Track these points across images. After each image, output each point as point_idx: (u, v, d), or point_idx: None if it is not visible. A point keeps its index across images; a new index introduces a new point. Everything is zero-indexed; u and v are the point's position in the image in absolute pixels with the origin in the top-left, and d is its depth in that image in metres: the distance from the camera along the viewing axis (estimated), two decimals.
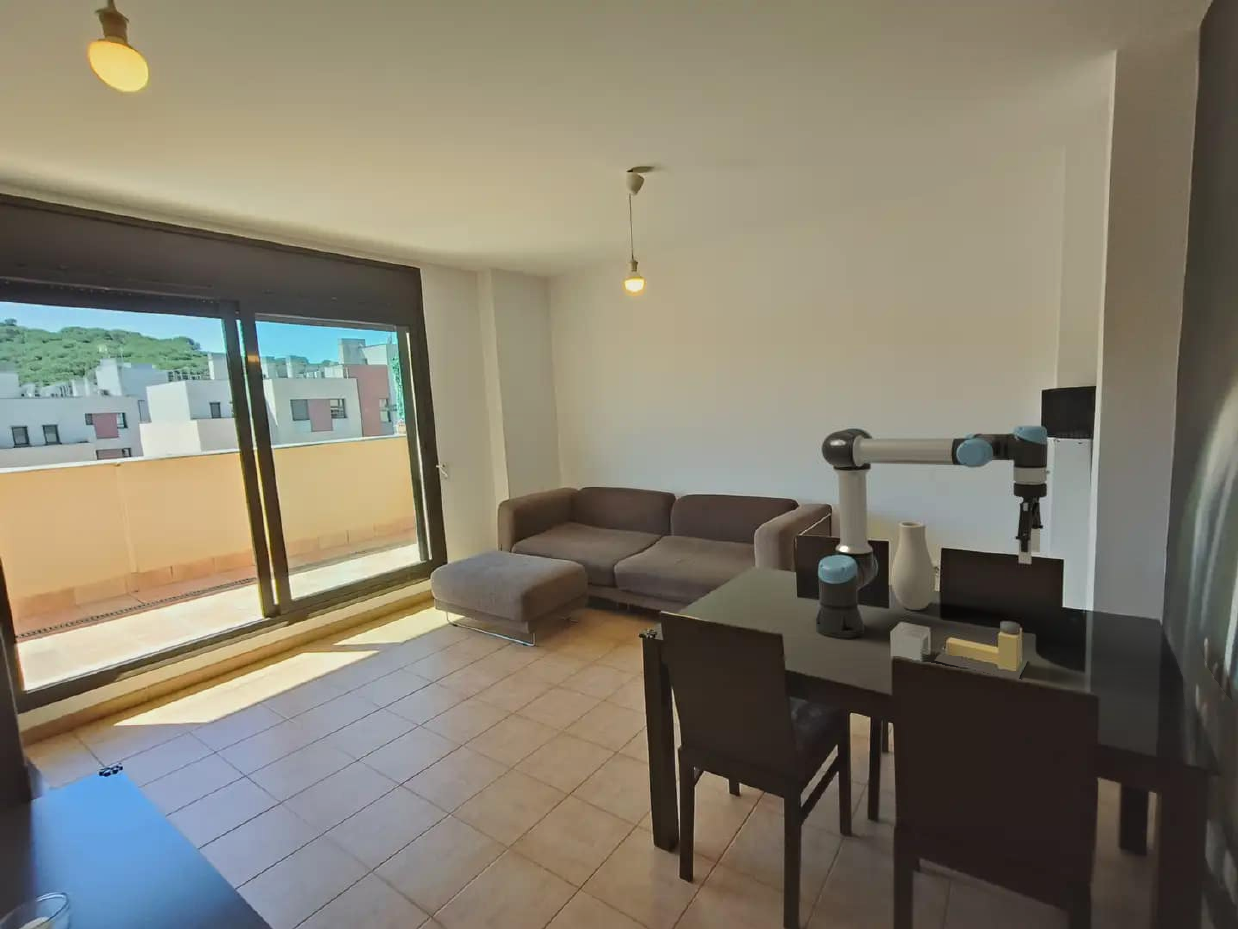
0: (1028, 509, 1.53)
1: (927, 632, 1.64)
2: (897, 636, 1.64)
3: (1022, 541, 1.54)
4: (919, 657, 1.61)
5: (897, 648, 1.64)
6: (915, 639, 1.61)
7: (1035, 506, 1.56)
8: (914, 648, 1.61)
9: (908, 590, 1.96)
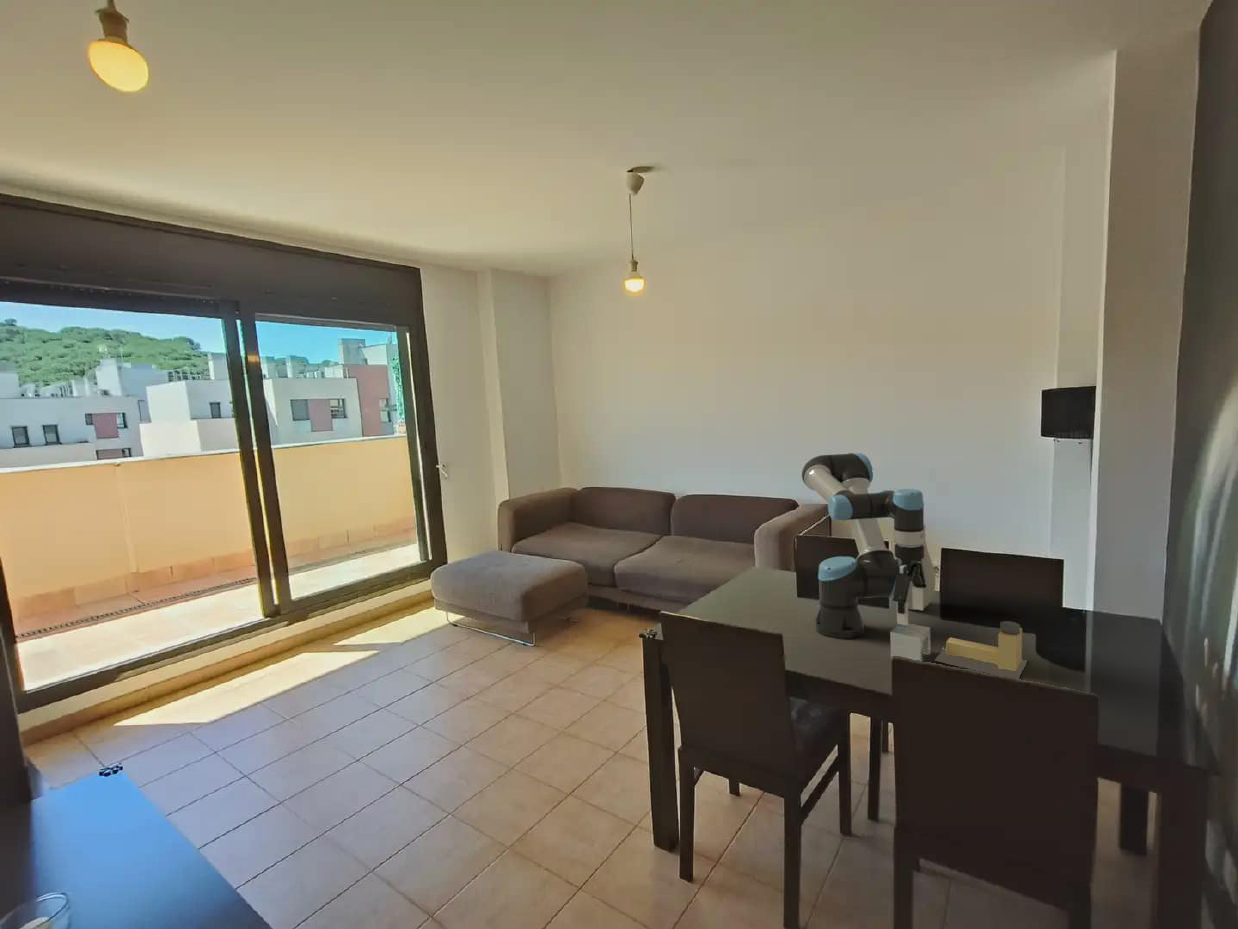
0: (904, 572, 1.58)
1: (927, 632, 1.64)
2: (897, 636, 1.64)
3: (898, 603, 1.59)
4: (919, 657, 1.61)
5: (897, 648, 1.64)
6: (915, 639, 1.61)
7: (913, 568, 1.61)
8: (914, 648, 1.61)
9: None
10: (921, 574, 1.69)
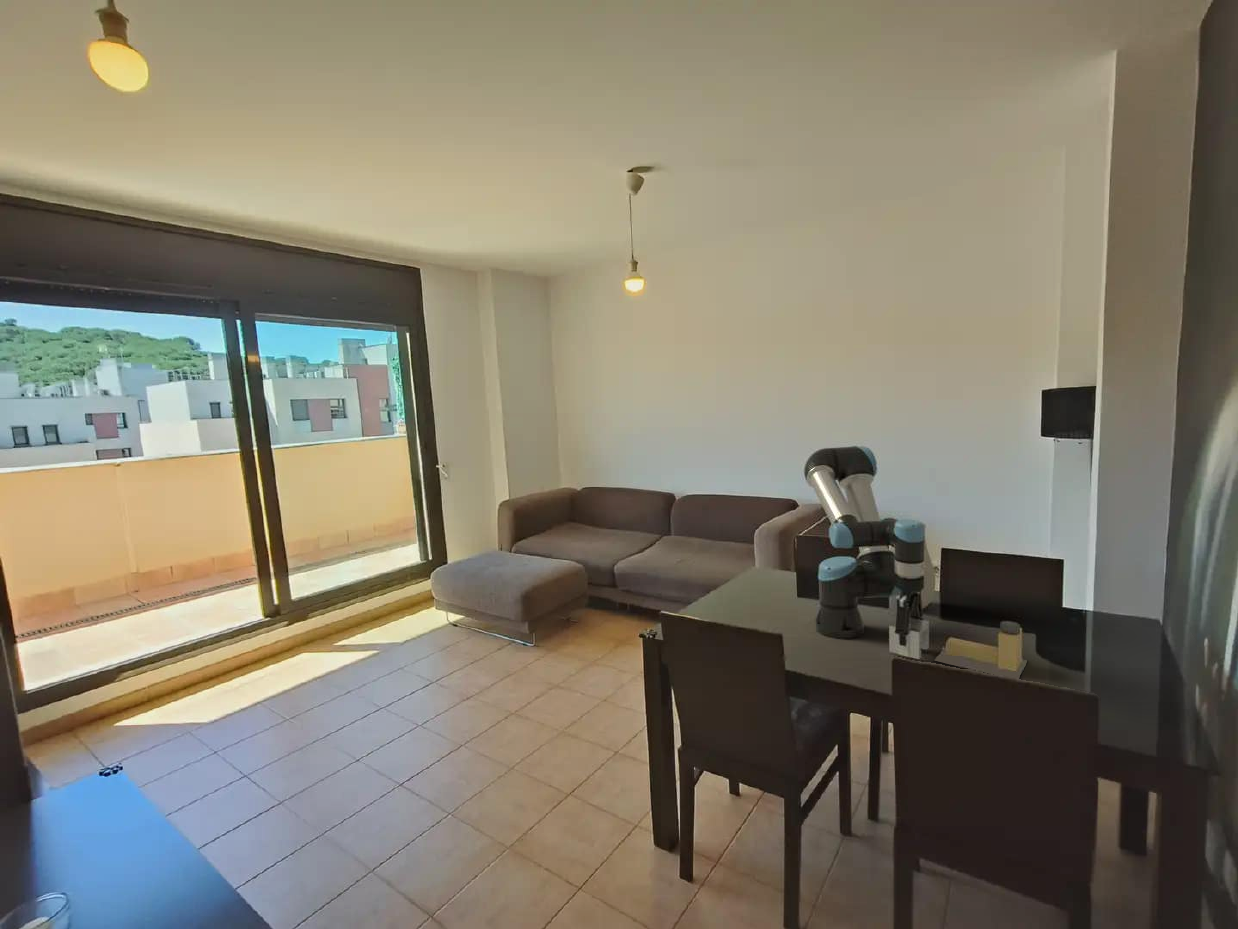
0: (904, 606, 1.60)
1: (926, 626, 1.65)
2: None
3: (900, 635, 1.62)
4: (918, 651, 1.61)
5: (896, 642, 1.65)
6: (914, 633, 1.61)
7: (912, 599, 1.62)
8: (913, 642, 1.62)
9: None
10: (919, 606, 1.69)
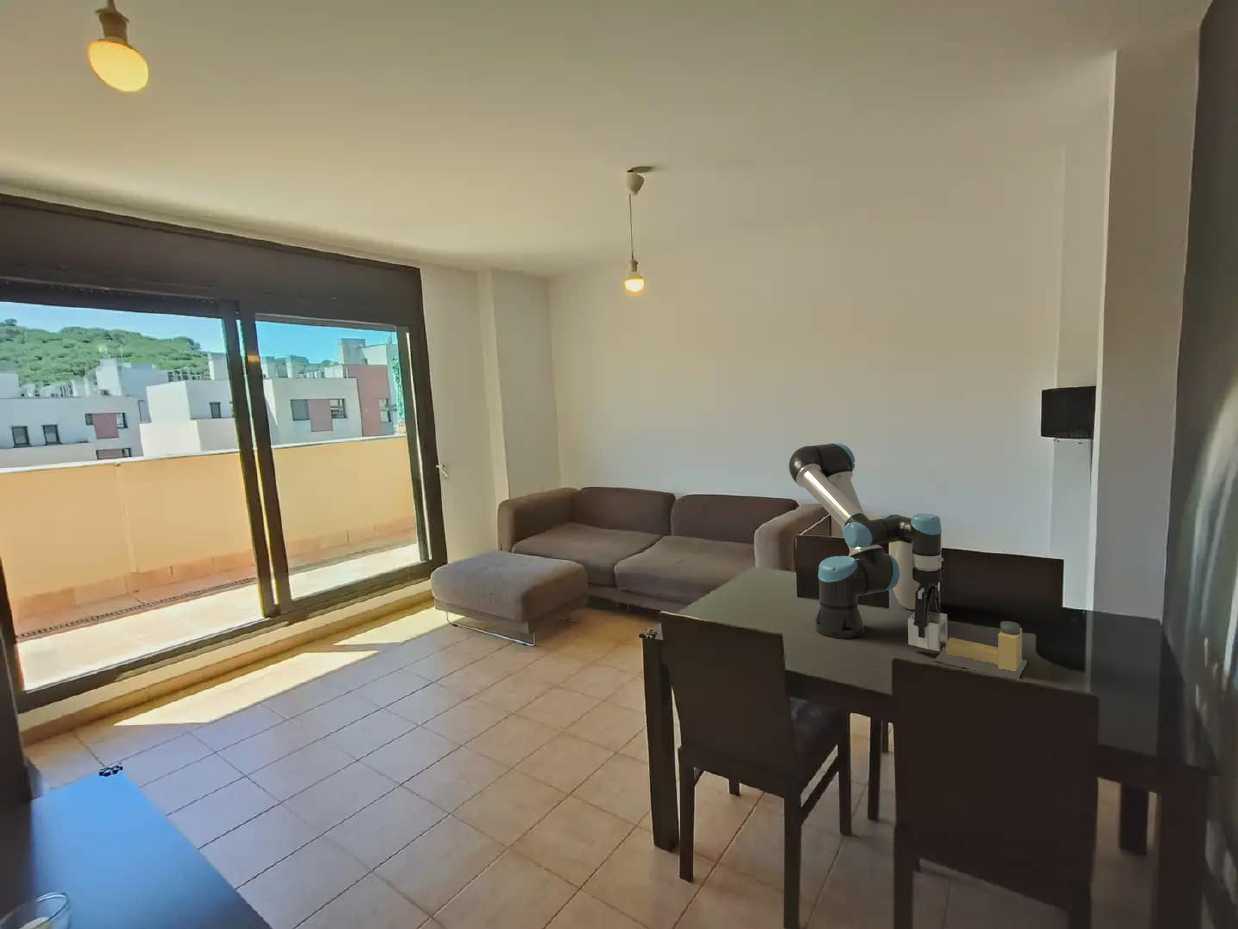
0: (922, 598, 1.62)
1: (944, 618, 1.67)
2: None
3: (919, 627, 1.64)
4: (937, 643, 1.63)
5: (915, 634, 1.67)
6: (933, 625, 1.63)
7: (930, 592, 1.65)
8: (932, 634, 1.64)
9: (908, 590, 1.96)
10: (937, 600, 1.72)
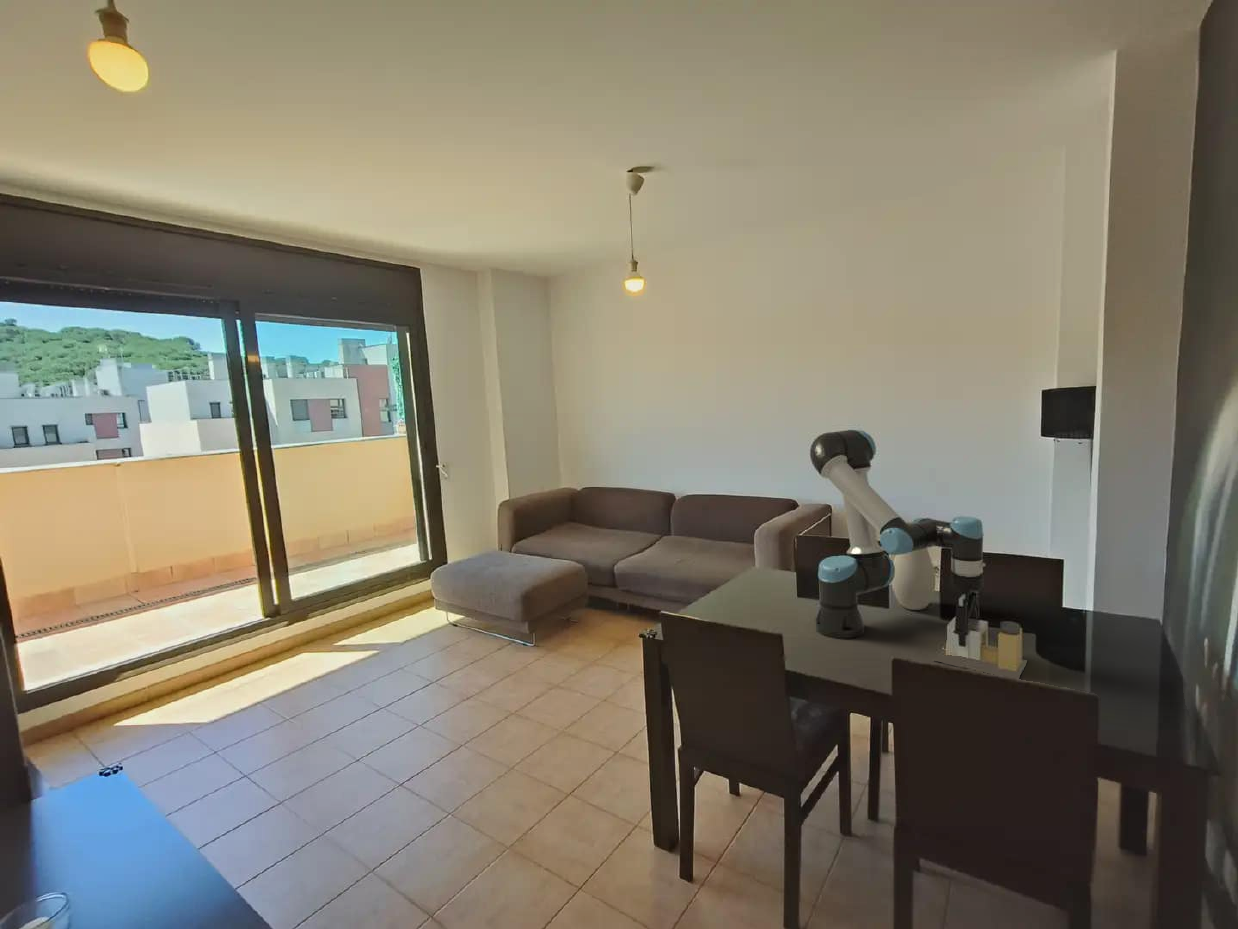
0: (963, 605, 1.55)
1: (985, 626, 1.60)
2: (954, 630, 1.60)
3: (960, 636, 1.57)
4: (978, 651, 1.56)
5: (955, 643, 1.60)
6: (974, 633, 1.56)
7: (971, 598, 1.58)
8: (973, 642, 1.57)
9: (908, 590, 1.96)
10: (976, 606, 1.65)
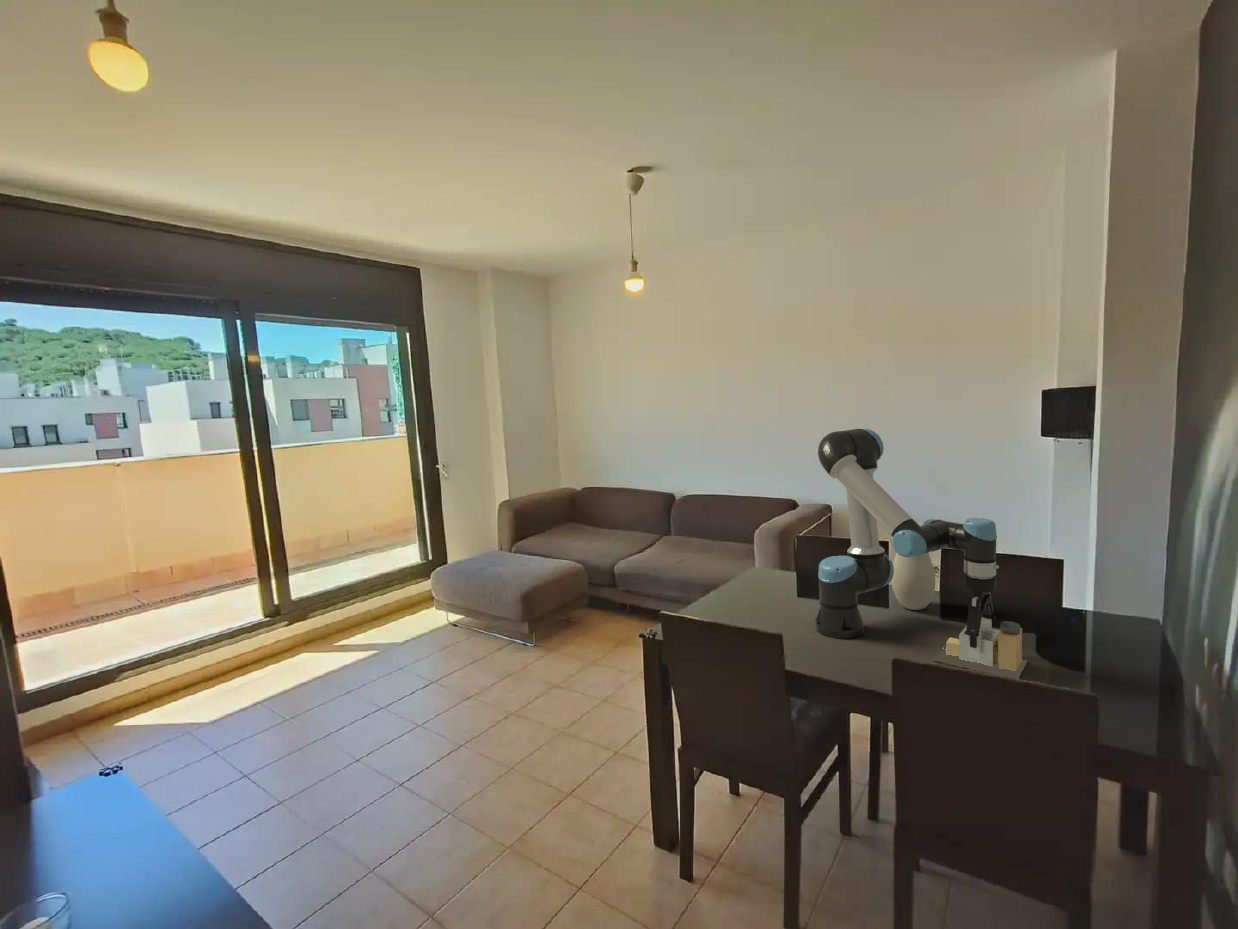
0: (976, 605, 1.53)
1: None
2: (967, 639, 1.58)
3: (971, 637, 1.54)
4: (991, 661, 1.54)
5: (967, 652, 1.58)
6: (987, 642, 1.55)
7: (984, 600, 1.56)
8: (986, 652, 1.55)
9: (908, 590, 1.96)
10: (990, 605, 1.64)
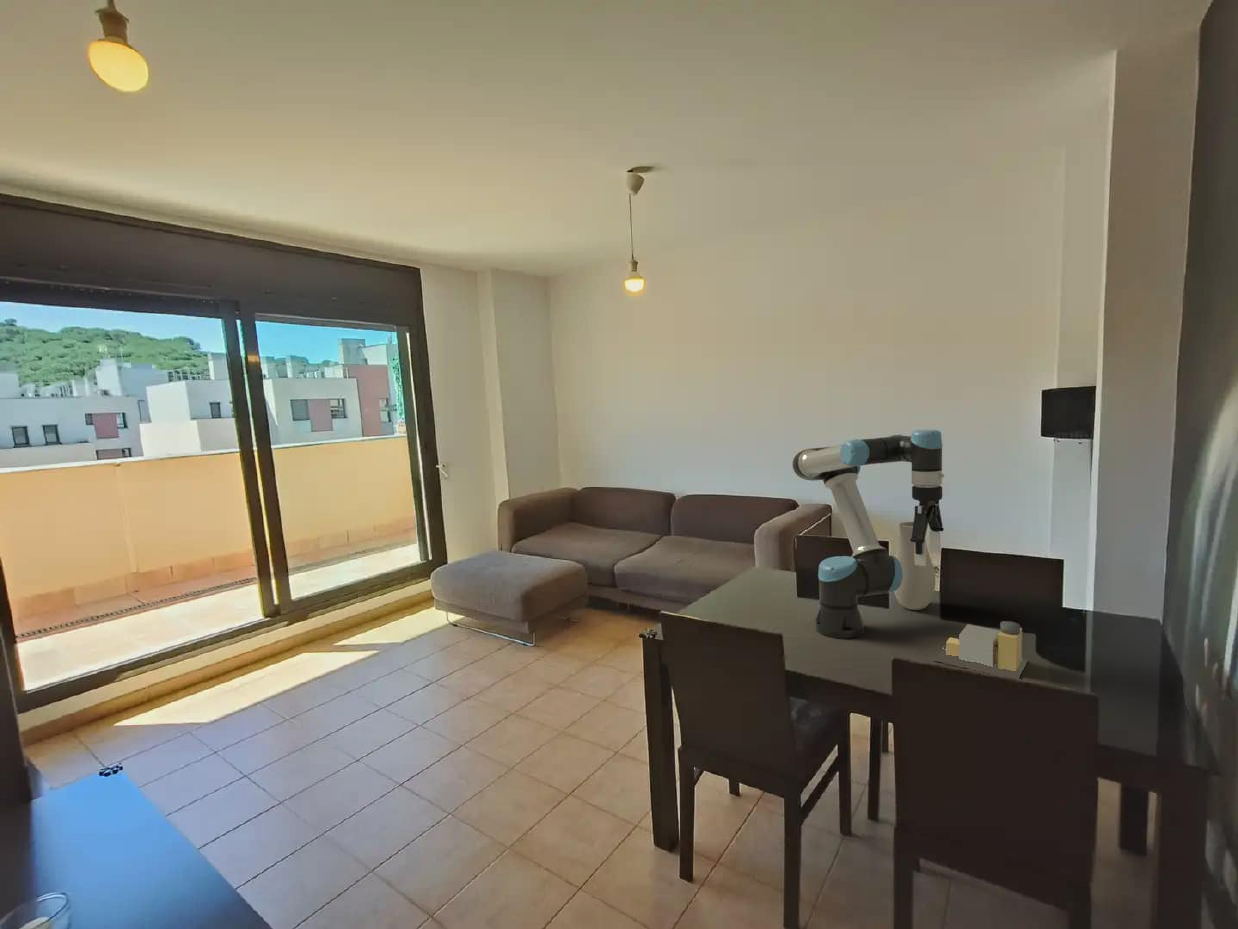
0: (922, 512, 1.56)
1: None
2: (967, 639, 1.58)
3: (916, 543, 1.56)
4: (991, 661, 1.54)
5: (967, 652, 1.58)
6: (987, 642, 1.55)
7: (931, 509, 1.59)
8: (986, 652, 1.55)
9: (908, 590, 1.96)
10: (938, 517, 1.66)
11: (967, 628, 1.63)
